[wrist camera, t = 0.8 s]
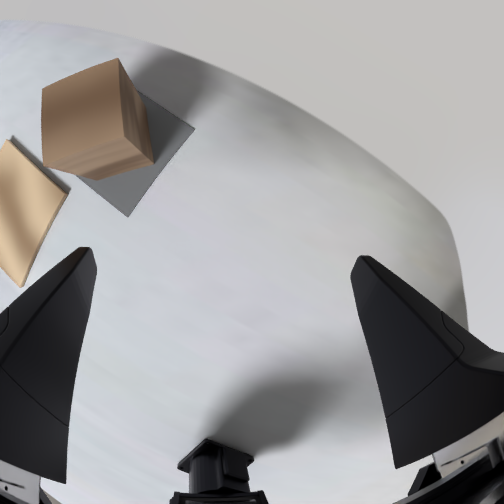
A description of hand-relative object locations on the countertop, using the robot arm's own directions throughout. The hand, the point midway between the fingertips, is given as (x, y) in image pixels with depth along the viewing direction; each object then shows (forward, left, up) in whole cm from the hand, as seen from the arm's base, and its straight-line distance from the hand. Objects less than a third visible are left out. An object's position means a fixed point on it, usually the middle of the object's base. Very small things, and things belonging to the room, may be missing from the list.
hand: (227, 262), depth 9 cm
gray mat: (+1, +11, -13) cm, 17 cm away
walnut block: (+1, +11, -13) cm, 17 cm away
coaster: (-10, +17, -13) cm, 24 cm away
